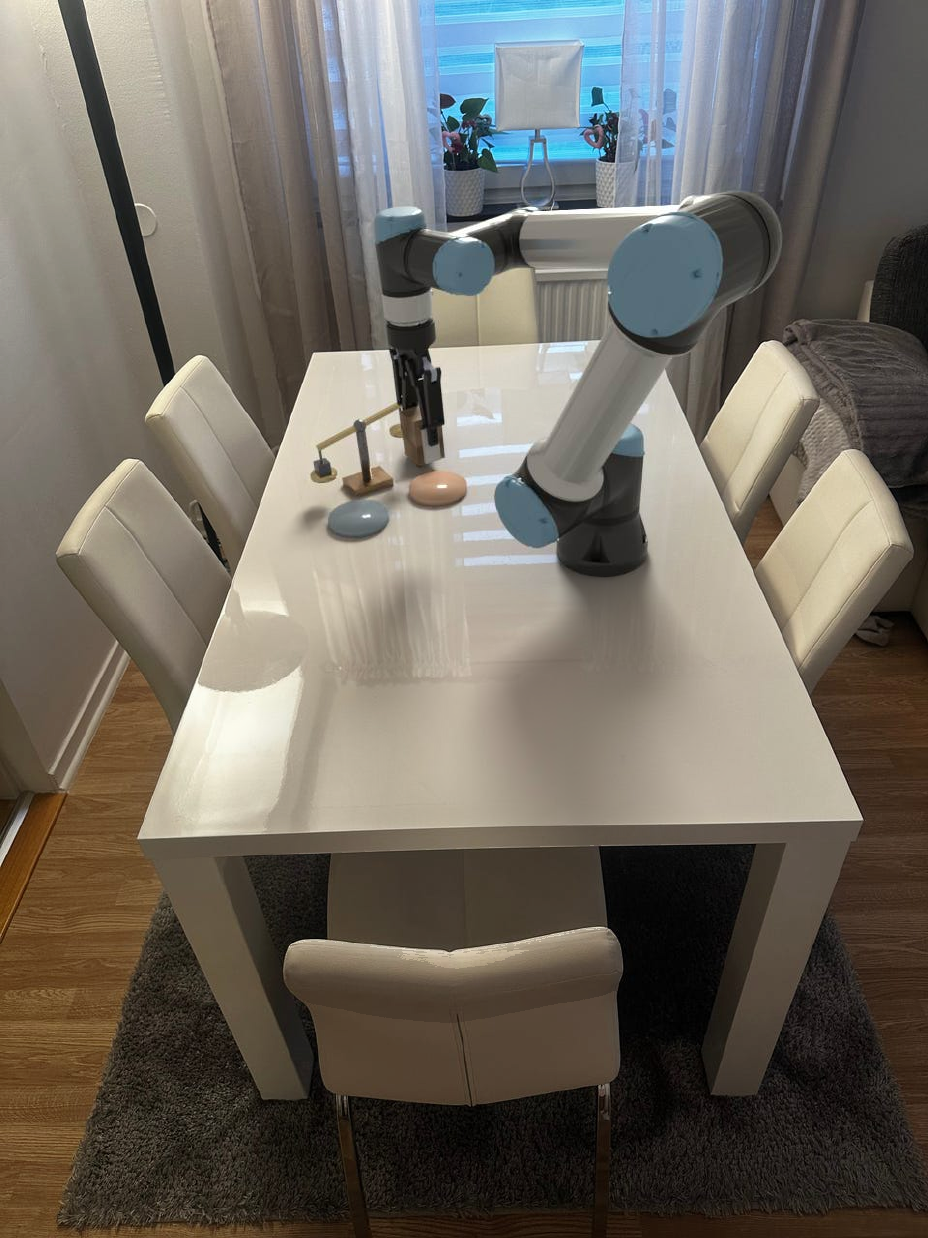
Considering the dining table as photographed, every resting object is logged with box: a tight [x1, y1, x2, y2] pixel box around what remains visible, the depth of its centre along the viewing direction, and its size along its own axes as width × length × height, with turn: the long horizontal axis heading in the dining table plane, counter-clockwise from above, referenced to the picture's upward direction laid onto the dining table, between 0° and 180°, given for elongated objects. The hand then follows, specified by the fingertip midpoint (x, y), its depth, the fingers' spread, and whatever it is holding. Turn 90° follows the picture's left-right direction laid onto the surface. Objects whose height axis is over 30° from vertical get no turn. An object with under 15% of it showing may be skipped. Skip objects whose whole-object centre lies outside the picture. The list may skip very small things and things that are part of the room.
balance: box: [309, 402, 403, 498], centre depth 168 cm, size 6×22×15 cm, turn 120°
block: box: [399, 406, 446, 467], centre depth 149 cm, size 5×5×8 cm
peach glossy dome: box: [408, 470, 468, 507], centre depth 169 cm, size 11×11×1 cm
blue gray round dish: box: [327, 499, 390, 539], centre depth 162 cm, size 11×11×1 cm
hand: (424, 454), depth 151 cm, fingers closed on block, 5 cm apart
